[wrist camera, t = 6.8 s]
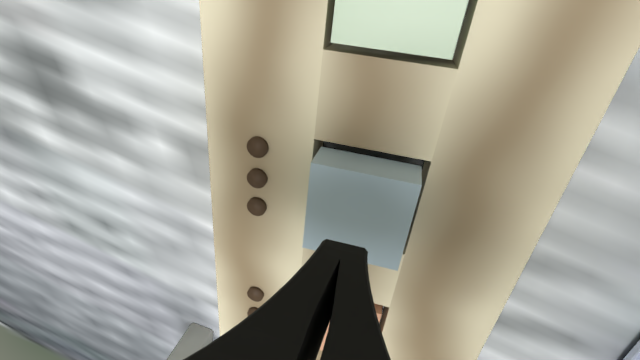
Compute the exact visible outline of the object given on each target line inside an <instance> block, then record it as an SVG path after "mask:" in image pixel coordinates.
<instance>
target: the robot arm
mask: <svg viewBox="0 0 640 360" xmlns="http://www.w3.org/2000/svg"><path fill="white" fill-rule="evenodd" d="M367 257H368V251H367V250H366V249H365V248H363V247H359V246H355V245H350V244H346V243H342V242H338V241H333V240H329V239H325V240H323V241H322V242H321V244H320V245H319V247H318V248H317V249H316V251H315V252H314V253H313V254H312V256H311V257H310V258H309V259H308V260H307V262H306V263H305V264H304V265H303V266H302V267H301V268H300V269H299V270H298V271H297V272H296V273H295V275H294V276H293V277H292V278H291V279H290V280H289V281H288V282H287V283H286V284H285V285H284V286H283V287H281V288H280V289H279V290H278V291H277V292H276V293H275V294H274V295H273V296H272V297H271V298H270V299H268V300H267V301H266V302H265V303H264V304H263V305H261V306H260V307H259V308H258V309H257V310H255V311H254V312H253V313H252V314H250V315H249V316H248V317H247V318H245V319H244V320H243V321H241V322H240V323H239V324H237V325H236V326H234V327H233V328H232V329H230V330H229V331H227V332H226V333H225V334H223V335H222V336H220V337H219V338H217V339H216V340H214V341H213V342H211V343H210V344H208V345H207V346H205V347H203V348H202V349H200V350H198V351H197V352H195V353H193V354H192V355H190V356H188V357H187V358H185V359H183V360H316V358H317V355H318V352H319V350H320V347H321V344H322V341H323V338H324V336H325V333H326V330H327V327H328V324H329V329H328V333H327V337H326V340H325V344H324V348H323V351H322V355H321V358H320V360H391V358H390V356H389V353H388V350H387V347H386V344H385V341H384V338H383V335H382V332H381V328H380V325H379V321H378V318H377V314H376V310H375V306H374V301H373V296H372V292H371V287H370V281H369V273H368V258H367ZM329 321H330V322H329ZM623 360H640V340H639V341H638V342H637V344H636V345H635V346H634V347H633V348H632V349H631V351H630V352H629V353H628V354H627V355H626V356H625V358H624V359H623Z"/></svg>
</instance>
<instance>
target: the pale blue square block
mask: <svg viewBox="0 0 640 360" xmlns="http://www.w3.org/2000/svg"><path fill="white" fill-rule="evenodd" d="M421 187H422V168H421V166H419V165H414V164H409V163H404V162H399V161H394V160H388V159H383V158H378V157H373V156H368V155H363V154H358V153H352V152H347V151H342V150H337V149H332V148H327V147H322V146H321V147H320V149H319V151H318V152H317V154H316V155H315V157H314V158H313V160H312V162H311V165H310V175H309V185H308V196H307V206H306V216H305V226H304V236H303V246H302V248H307V249H311V250H315V251H316V249H317V248H318V247H319V245H320V244H321V242H322V241H323V240H325V239H329V240H333V241H338V242H342V243H346V244H350V245H355V246H359V247H363V248H365V249H366V250H367V251H368V257H367V258H368V264H372V265H376V266H380V267H384V268H388V269H392V270H396V271H398V268H399V264H400V261H401V257H402V254H403V250H404V247H405V243H406V240H407V236H408V233H409V229H410V226H411V222H412V219H413V215H414V212H415V208H416V204H417V201H418V197H419V194H420V190H421Z"/></svg>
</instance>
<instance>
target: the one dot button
mask: <svg viewBox="0 0 640 360" xmlns="http://www.w3.org/2000/svg"><path fill="white" fill-rule="evenodd" d="M467 4H468V0H335V6H334V16H333V25H332V34H331V43H337V44H344V45H351V46H358V47H365V48H372V49H379V50H386V51H393V52H400V53H407V54H414V55H421V56H428V57H435V58H442V59H449V60H452V58H453V55H454V51H455V47H456V44H457V40H458V36H459V33H460V29H461V26H462V22H463V18H464V15H465V11H466V7H467Z"/></svg>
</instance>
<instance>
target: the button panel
mask: <svg viewBox="0 0 640 360" xmlns="http://www.w3.org/2000/svg"><path fill="white" fill-rule="evenodd" d="M199 4H200V20H201V37H202V53H203V69H204V85H205V101H206V118H207V134H208V150H209V166H210V182H211V198H212V215H213V231H214V247H215V263H216V279H217V296H218V312H219V328H220V336H222V335H223V334H225V333H226V332H227V331H229V330H230V329H232V328H233V327H234V326H236V325H237V324H239V323H240V322H241V321H243V320H244V319H245V318H247V317H248V316H249V315H250V314H252V313H253V312H254V311H255V310H257V309H258V308H259V307H260V306H261V305H263V304H264V303H265V302H266V301H267V300H268V299H270V298H271V297H272V296H273V295H274V294H275V293H276V292H277V291H278V290H279V289H280V288H281V287H283V286H284V285H285V284H286V283H287V282H288V281H289V280H290V279H291V278H292V277H293V276H294V275H295V273H296V272H297V271H298V270H299V269H300V268H301V267H302V266H303V265H304V264H305V263H306V262H307V260H308V259H309V258H310V257H311V256H312V254H313V253H314V252H315V250H311V249H307V248H302V246H303V236H304V226H305V216H306V206H307V196H308V185H309V175H310V165H311V162H312V160H313V158H314V157H315V155H316V154H317V152H318V151H319V149H320V147H321V146H322V147H323V141H327V142H332V143H337V144H342V145H348V146H353V147H358V148H363V149H369V150H374V151H379V152H384V153H389V154H395V155H400V156H405V157H410V158H416V159H421V160H425V162H424V165H423V169H422V187H421V190H420V194H419V197H418V201H417V204H416V208H415V212H414V215H413V219H412V222H411V226H410V229H409V233H408V236H407V240H406V243H405V247H404V250H403V254H402V257H401V261H400V264H399V268H398V271H396V270H392V269H388V268H384V267H380V266H376V265H372V264H368V273H369V281H370V287H371V292H372V296H373V301H374V304H378V305H382V306H384V310H383V313H382V317H381V320H380V324H379V325H380V328H381V332H382V335H383V338H384V341H385V344H386V347H387V350H388V353H389V356H390V358H391V360H476V359H477V358H478V356H479V354H480V352H481V350H482V348H483V346H484V344H485V342H486V340H487V338H488V336H489V335H490V333H491V331H492V329H493V327H494V325H495V323H496V321H497V319H498V317H499V315H500V313H501V311H502V310H503V308H504V306H505V304H506V302H507V300H508V298H509V296H510V294H511V292H512V290H513V288H514V287H515V285H516V283H517V281H518V279H519V277H520V275H521V273H522V271H523V269H524V267H525V265H526V264H527V262H528V260H529V258H530V256H531V254H532V252H533V250H534V248H535V246H536V244H537V242H538V241H539V239H540V237H541V235H542V233H543V231H544V229H545V227H546V225H547V223H548V221H549V219H550V217H551V216H552V214H553V212H554V210H555V208H556V206H557V204H558V202H559V200H560V198H561V196H562V194H563V193H564V191H565V189H566V187H567V185H568V183H569V181H570V179H571V177H572V175H573V173H574V171H575V170H576V168H577V166H578V164H579V162H580V160H581V158H582V156H583V154H584V152H585V150H586V148H587V147H588V145H589V143H590V141H591V139H592V137H593V135H594V133H595V131H596V129H597V127H598V125H599V123H600V122H601V120H602V118H603V116H604V114H605V112H606V110H607V108H608V106H609V104H610V102H611V100H612V99H613V97H614V95H615V93H616V91H617V89H618V87H619V85H620V83H621V81H622V79H623V77H624V76H625V74H626V72H627V70H628V68H629V66H630V64H631V62H632V60H633V58H634V56H635V54H636V53H637V51H638V49H639V47H640V0H469V3H468V7H467V10H466V14H465V17H464V21H463V25H462V28H461V32H460V35H459V39H458V43H457V46H456V50H455V53H454V57H453V60H449V59H442V58H435V57H428V56H421V55H414V54H407V53H400V52H393V51H386V50H379V49H372V48H365V47H358V46H351V45H344V44H337V43H331V34H332V25H333V16H334V6H335V0H199ZM321 355H322V351H321V350H319V352H318V355H317V358H316V360H320V358H321Z"/></svg>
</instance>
